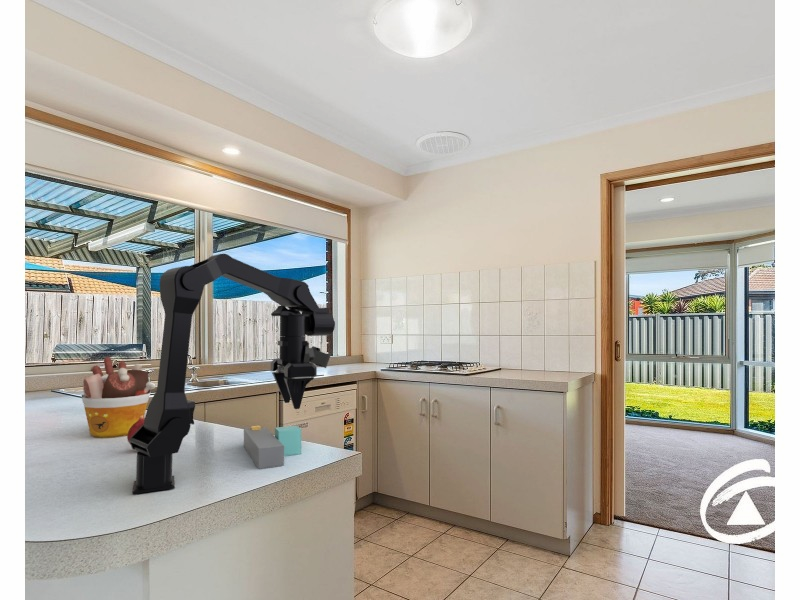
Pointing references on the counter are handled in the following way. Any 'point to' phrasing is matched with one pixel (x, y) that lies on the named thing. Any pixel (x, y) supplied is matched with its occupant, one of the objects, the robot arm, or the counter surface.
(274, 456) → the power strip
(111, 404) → the bucket of meat
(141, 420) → the onion
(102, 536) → the counter surface
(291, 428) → the block
